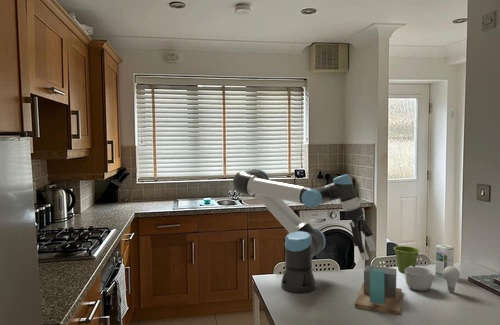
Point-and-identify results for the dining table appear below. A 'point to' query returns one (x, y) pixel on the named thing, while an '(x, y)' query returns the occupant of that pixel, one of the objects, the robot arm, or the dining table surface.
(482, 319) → the dining table surface
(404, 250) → the plant pot
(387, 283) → the grey rectangular block
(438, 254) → the syrup box
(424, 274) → the teacup
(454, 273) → the lightbulb
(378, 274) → the teal rectangular block
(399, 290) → the base board
